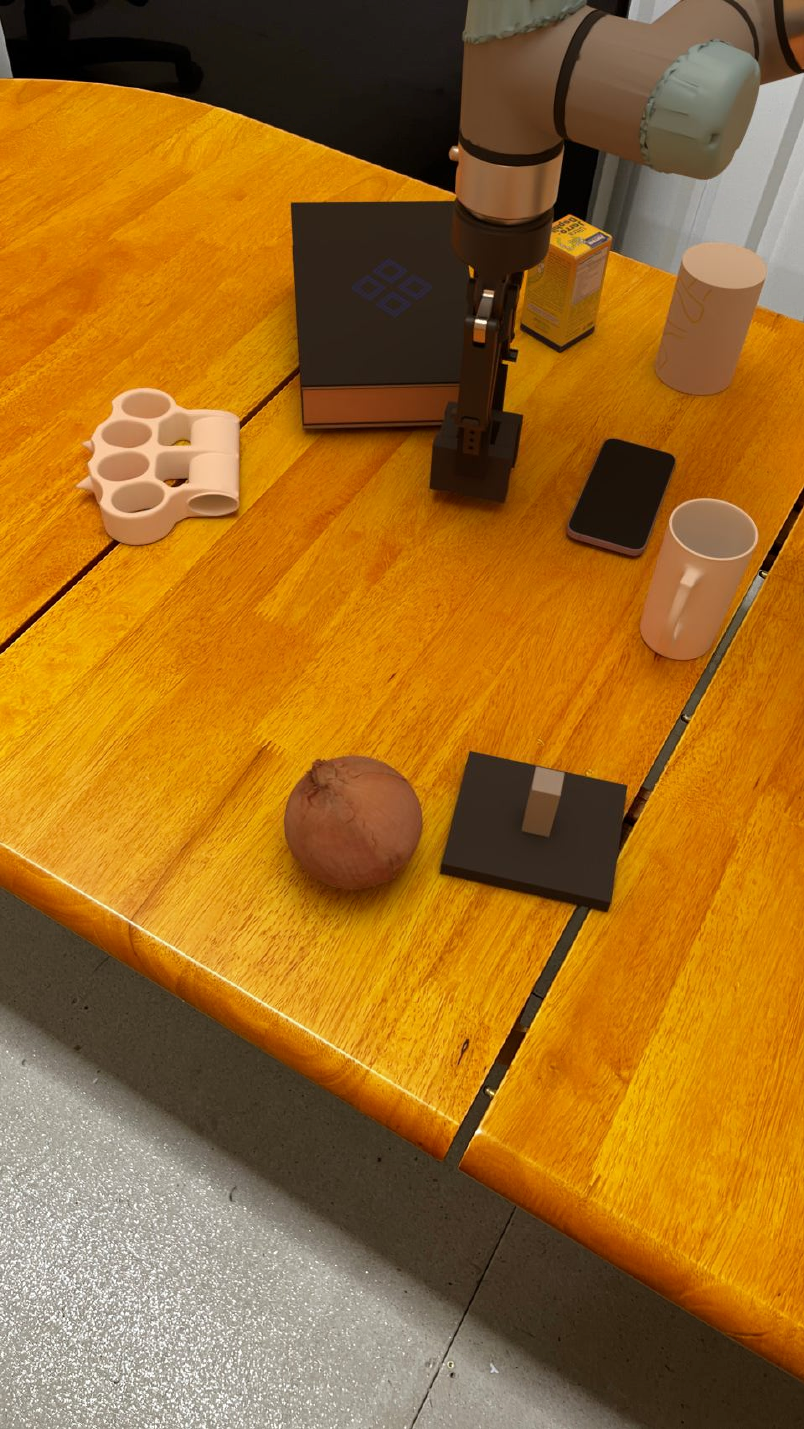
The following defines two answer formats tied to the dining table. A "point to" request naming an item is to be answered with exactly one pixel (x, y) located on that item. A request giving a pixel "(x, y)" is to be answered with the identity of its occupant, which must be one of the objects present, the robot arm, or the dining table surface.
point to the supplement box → (566, 284)
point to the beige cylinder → (709, 317)
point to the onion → (353, 822)
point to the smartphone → (622, 497)
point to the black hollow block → (499, 457)
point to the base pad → (527, 854)
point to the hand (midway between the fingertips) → (478, 449)
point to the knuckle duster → (161, 465)
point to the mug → (696, 576)
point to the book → (377, 312)
